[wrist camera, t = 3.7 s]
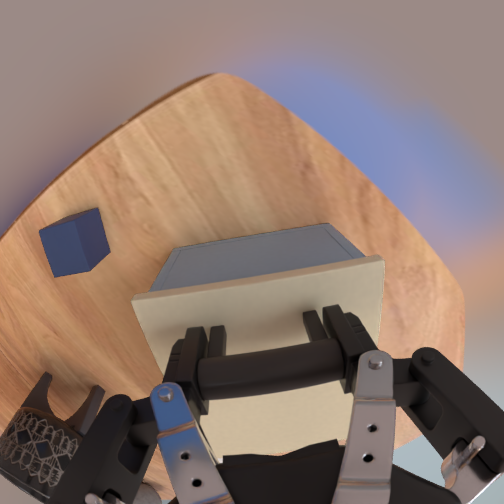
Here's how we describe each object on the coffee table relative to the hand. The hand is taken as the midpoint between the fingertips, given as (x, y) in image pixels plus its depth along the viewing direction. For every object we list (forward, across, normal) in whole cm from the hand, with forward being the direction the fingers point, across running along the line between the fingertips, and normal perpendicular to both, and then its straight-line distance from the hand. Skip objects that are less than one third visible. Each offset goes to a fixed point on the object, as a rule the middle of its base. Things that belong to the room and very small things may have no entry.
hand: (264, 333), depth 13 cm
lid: (+2, 0, +6) cm, 6 cm away
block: (+10, +14, -4) cm, 18 cm away
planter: (+11, +27, +16) cm, 33 cm away
